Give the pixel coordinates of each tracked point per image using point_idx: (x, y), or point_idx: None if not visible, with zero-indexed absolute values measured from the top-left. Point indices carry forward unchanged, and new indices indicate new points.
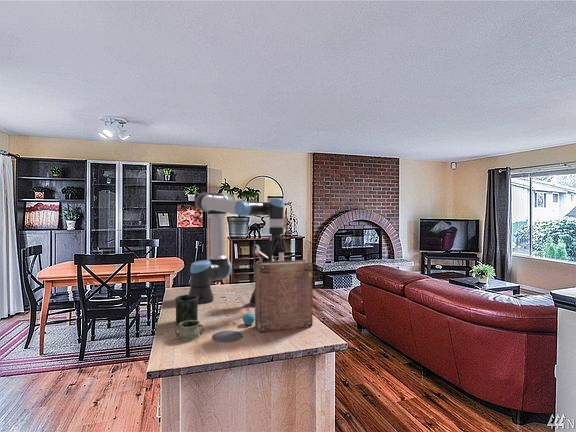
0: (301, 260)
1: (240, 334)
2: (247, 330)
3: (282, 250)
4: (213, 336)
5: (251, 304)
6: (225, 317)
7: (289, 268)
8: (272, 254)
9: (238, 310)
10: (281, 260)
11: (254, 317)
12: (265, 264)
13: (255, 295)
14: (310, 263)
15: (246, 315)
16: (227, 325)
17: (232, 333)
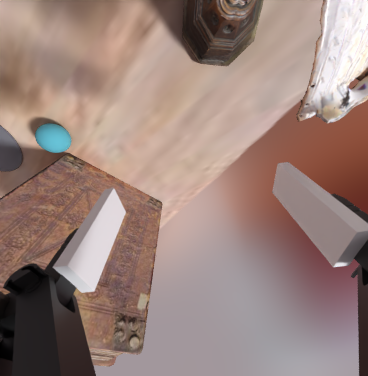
0: (126, 351)
1: (16, 159)
2: (42, 154)
3: (361, 290)
4: None
5: (184, 4)
6: (29, 25)
7: None
8: (76, 304)
9: (109, 3)
10: (289, 198)
11: (66, 149)
12: None
13: (12, 192)
14: (106, 362)
15: (37, 142)
16: (9, 93)
17: (1, 144)
